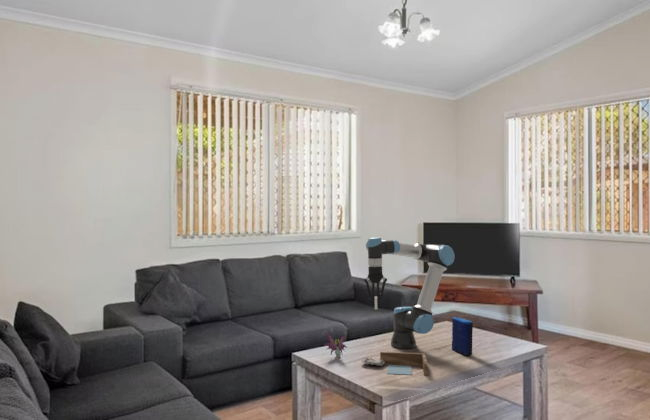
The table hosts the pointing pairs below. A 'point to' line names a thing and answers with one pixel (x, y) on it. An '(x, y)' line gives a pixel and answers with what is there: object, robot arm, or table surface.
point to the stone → (373, 361)
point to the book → (462, 335)
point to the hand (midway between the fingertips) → (376, 308)
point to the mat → (399, 369)
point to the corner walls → (405, 359)
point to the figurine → (336, 345)
